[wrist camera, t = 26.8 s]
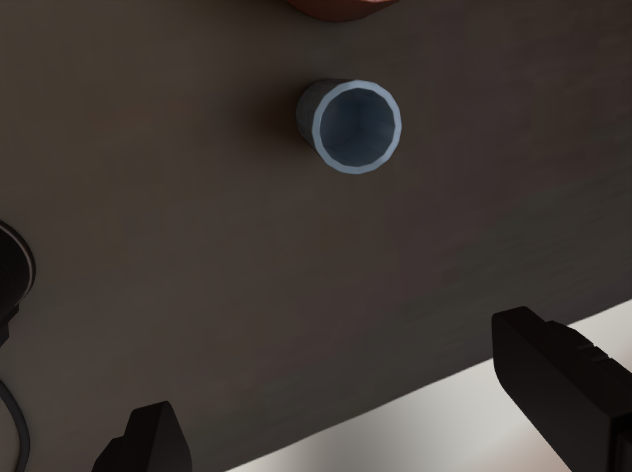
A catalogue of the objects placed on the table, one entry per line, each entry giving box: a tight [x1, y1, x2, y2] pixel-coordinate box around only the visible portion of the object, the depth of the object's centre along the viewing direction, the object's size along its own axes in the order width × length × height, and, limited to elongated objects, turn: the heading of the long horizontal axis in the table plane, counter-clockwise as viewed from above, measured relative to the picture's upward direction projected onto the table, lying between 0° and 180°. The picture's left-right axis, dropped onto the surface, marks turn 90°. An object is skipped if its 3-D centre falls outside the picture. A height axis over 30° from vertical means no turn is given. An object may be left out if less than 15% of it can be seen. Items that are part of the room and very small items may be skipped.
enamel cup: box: [296, 79, 402, 174], centre depth 33 cm, size 6×6×10 cm
